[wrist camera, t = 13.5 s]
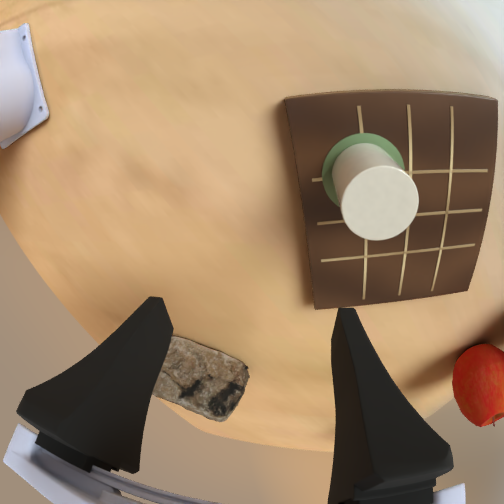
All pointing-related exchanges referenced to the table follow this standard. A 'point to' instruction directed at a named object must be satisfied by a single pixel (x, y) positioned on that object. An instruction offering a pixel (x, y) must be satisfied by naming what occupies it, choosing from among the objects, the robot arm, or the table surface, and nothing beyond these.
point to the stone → (201, 379)
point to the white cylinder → (373, 192)
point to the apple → (480, 384)
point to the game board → (420, 171)
